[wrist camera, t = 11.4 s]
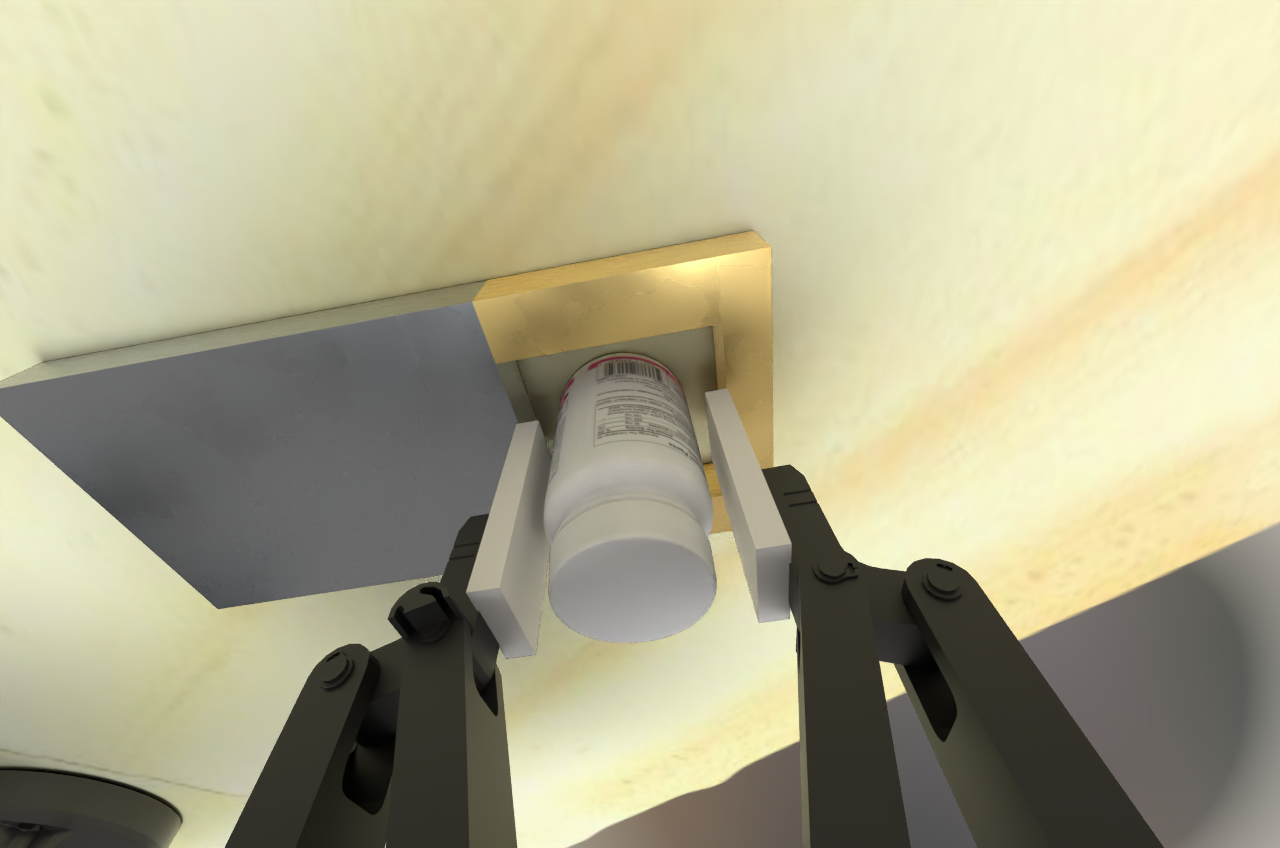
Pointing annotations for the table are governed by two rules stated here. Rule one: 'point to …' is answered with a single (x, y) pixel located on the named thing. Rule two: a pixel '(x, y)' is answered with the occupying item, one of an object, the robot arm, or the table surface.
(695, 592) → the pill bottle
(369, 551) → the flat tray
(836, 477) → the table surface
